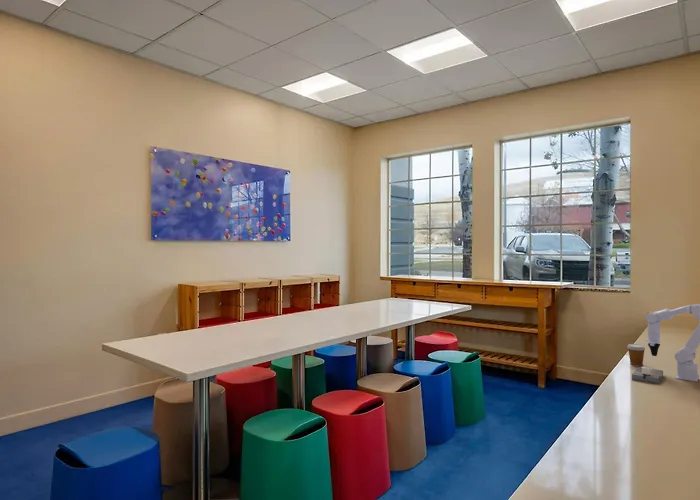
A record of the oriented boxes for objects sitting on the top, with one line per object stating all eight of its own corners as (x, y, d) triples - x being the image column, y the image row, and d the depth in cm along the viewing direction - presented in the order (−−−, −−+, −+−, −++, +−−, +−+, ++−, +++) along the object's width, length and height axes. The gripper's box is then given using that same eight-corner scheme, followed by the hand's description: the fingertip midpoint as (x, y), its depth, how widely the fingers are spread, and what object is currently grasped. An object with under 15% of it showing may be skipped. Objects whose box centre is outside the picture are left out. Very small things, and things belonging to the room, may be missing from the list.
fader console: (663, 375, 247) (663, 370, 247) (657, 383, 233) (657, 378, 233) (638, 371, 255) (638, 366, 255) (631, 379, 242) (631, 374, 242)
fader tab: (650, 376, 241) (650, 367, 241) (649, 377, 239) (649, 368, 239) (642, 375, 243) (642, 365, 243) (641, 376, 241) (641, 367, 241)
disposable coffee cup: (645, 367, 264) (644, 347, 264) (626, 365, 270) (626, 346, 270) (646, 363, 272) (645, 344, 272) (628, 361, 277) (627, 343, 277)
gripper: (648, 330, 263) (648, 352, 263) (643, 334, 253) (644, 357, 253) (662, 331, 258) (662, 354, 258) (658, 335, 248) (658, 359, 248)
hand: (654, 355), depth 255 cm, fingers closed
